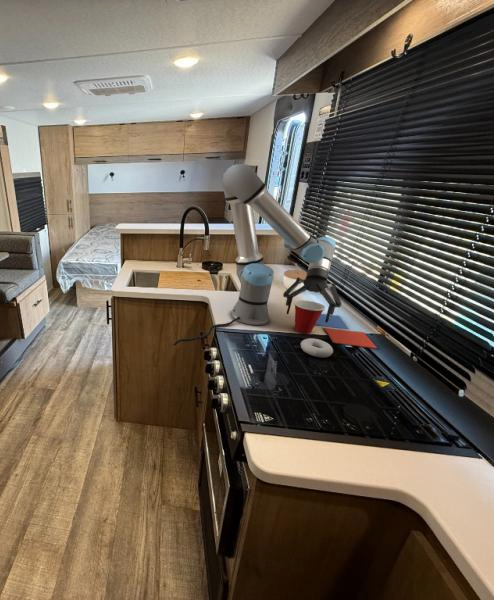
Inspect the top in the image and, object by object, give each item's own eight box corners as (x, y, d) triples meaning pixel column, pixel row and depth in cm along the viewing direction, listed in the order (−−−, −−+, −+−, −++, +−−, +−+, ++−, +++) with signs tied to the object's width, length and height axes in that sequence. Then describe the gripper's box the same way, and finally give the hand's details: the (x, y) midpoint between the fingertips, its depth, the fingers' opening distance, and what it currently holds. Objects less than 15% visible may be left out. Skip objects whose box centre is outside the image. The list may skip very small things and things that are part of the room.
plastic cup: (309, 324, 130) (317, 298, 125) (323, 337, 120) (331, 310, 116) (283, 323, 131) (289, 298, 126) (294, 336, 121) (301, 309, 117)
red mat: (377, 349, 113) (377, 348, 113) (333, 343, 117) (333, 342, 117) (363, 333, 123) (363, 332, 123) (323, 328, 127) (324, 327, 127)
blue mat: (348, 329, 127) (348, 328, 126) (309, 324, 131) (310, 323, 130) (338, 316, 137) (338, 315, 137) (303, 312, 141) (303, 311, 141)
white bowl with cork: (298, 295, 159) (303, 275, 155) (275, 288, 169) (280, 269, 165) (311, 290, 165) (316, 271, 161) (288, 283, 175) (293, 265, 171)
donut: (326, 346, 115) (296, 342, 117) (328, 338, 113) (298, 334, 116) (335, 361, 106) (303, 356, 108) (338, 353, 104) (306, 348, 107)
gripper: (352, 281, 125) (342, 328, 120) (284, 270, 138) (272, 312, 133) (357, 272, 119) (346, 321, 114) (285, 262, 132) (272, 306, 127)
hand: (306, 316), depth 123 cm, fingers open, 13 cm apart
